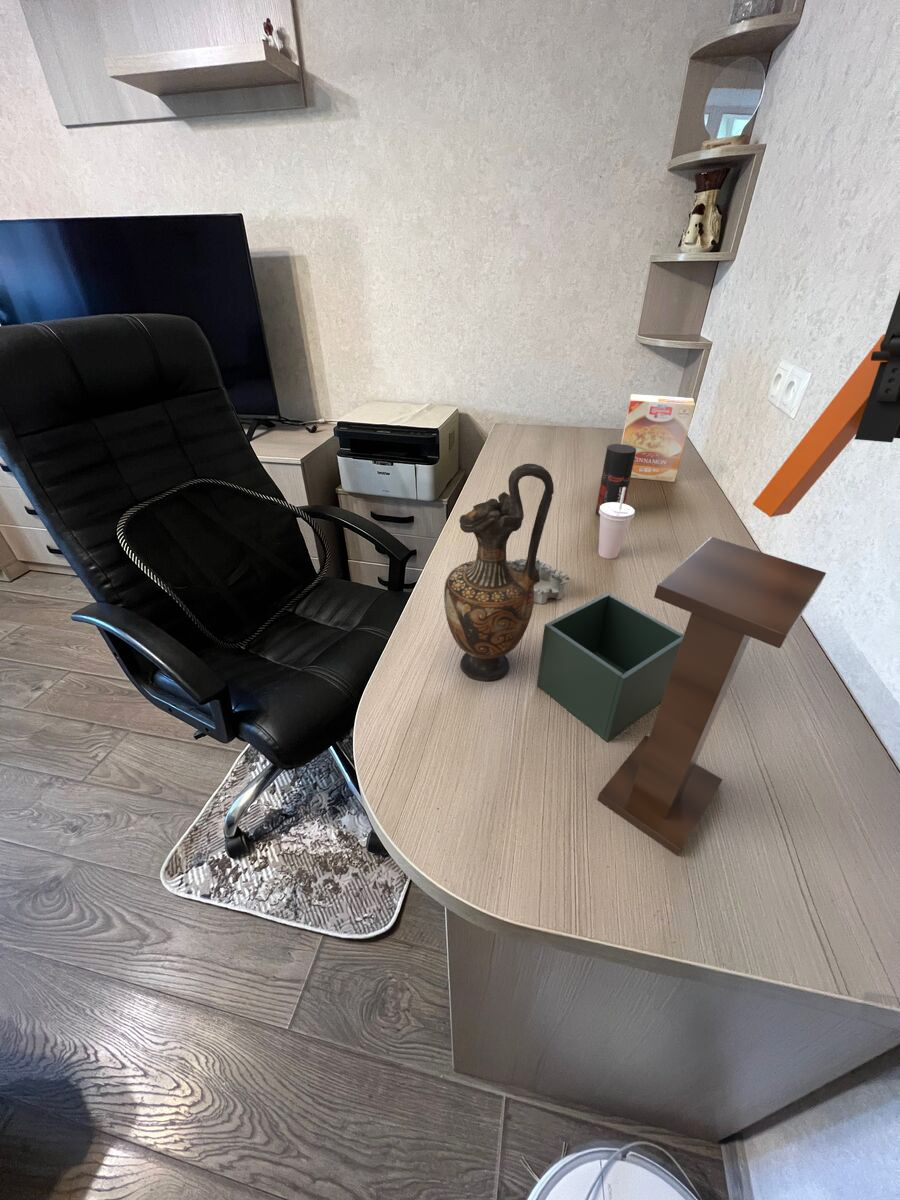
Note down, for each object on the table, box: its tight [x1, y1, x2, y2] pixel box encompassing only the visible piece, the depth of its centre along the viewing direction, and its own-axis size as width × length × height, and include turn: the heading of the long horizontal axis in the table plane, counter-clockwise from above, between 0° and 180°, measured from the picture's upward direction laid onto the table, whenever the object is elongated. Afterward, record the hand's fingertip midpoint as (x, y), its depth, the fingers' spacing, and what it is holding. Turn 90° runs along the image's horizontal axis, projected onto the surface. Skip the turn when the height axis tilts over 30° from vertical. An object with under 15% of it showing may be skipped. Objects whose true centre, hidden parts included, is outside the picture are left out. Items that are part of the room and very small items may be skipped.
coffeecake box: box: [620, 393, 696, 483], centre depth 128 cm, size 15×7×20 cm, turn 73°
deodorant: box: [595, 443, 636, 518], centre depth 110 cm, size 6×6×15 cm
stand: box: [597, 536, 827, 857], centre depth 47 cm, size 11×9×28 cm
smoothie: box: [598, 487, 636, 560], centre depth 95 cm, size 6×6×14 cm
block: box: [752, 333, 888, 518], centre depth 50 cm, size 18×4×2 cm
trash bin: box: [536, 592, 684, 743], centre depth 65 cm, size 12×12×11 cm
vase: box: [443, 463, 555, 682], centre depth 63 cm, size 12×12×30 cm
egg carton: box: [507, 557, 570, 605], centre depth 88 cm, size 11×8×4 cm
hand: (878, 438), depth 47 cm, fingers closed on block, 4 cm apart
